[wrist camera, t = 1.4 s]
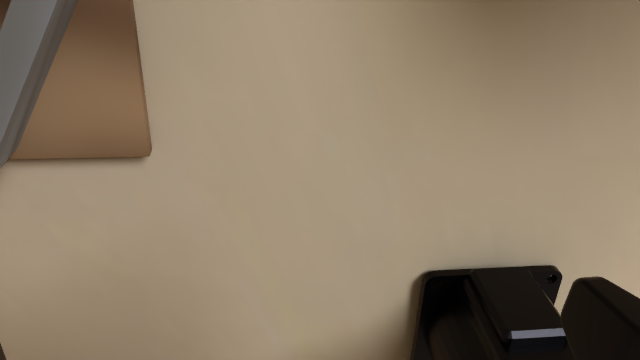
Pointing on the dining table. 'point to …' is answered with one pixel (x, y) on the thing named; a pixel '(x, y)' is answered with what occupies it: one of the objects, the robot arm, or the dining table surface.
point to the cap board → (71, 80)
